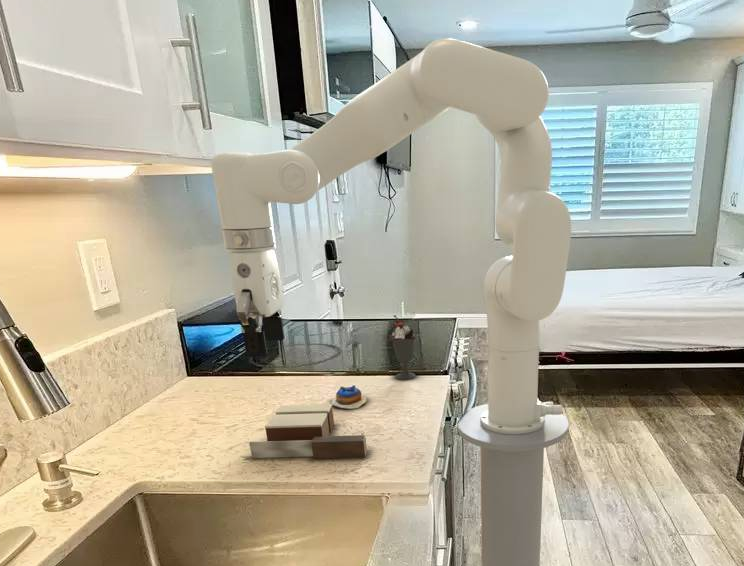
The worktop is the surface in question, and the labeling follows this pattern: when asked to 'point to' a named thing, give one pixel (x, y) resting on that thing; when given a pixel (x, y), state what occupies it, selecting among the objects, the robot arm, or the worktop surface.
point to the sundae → (403, 348)
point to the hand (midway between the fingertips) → (266, 347)
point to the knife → (313, 447)
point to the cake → (297, 427)
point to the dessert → (348, 398)
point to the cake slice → (309, 411)
